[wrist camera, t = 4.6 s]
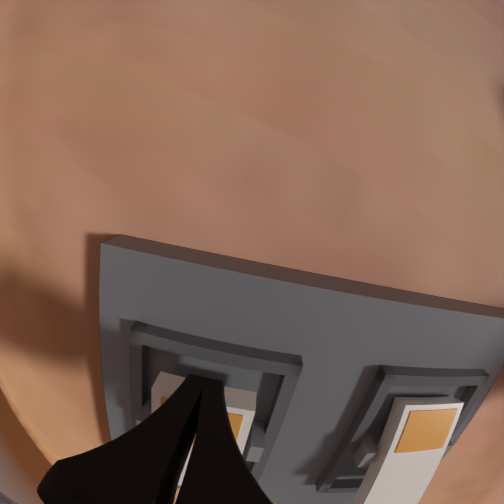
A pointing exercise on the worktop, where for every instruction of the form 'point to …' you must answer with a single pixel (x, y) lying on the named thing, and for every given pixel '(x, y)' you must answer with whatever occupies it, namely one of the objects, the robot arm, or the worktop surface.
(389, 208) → the worktop surface
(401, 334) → the breaker panel
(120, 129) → the worktop surface
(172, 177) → the worktop surface
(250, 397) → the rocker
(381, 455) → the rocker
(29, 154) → the worktop surface
